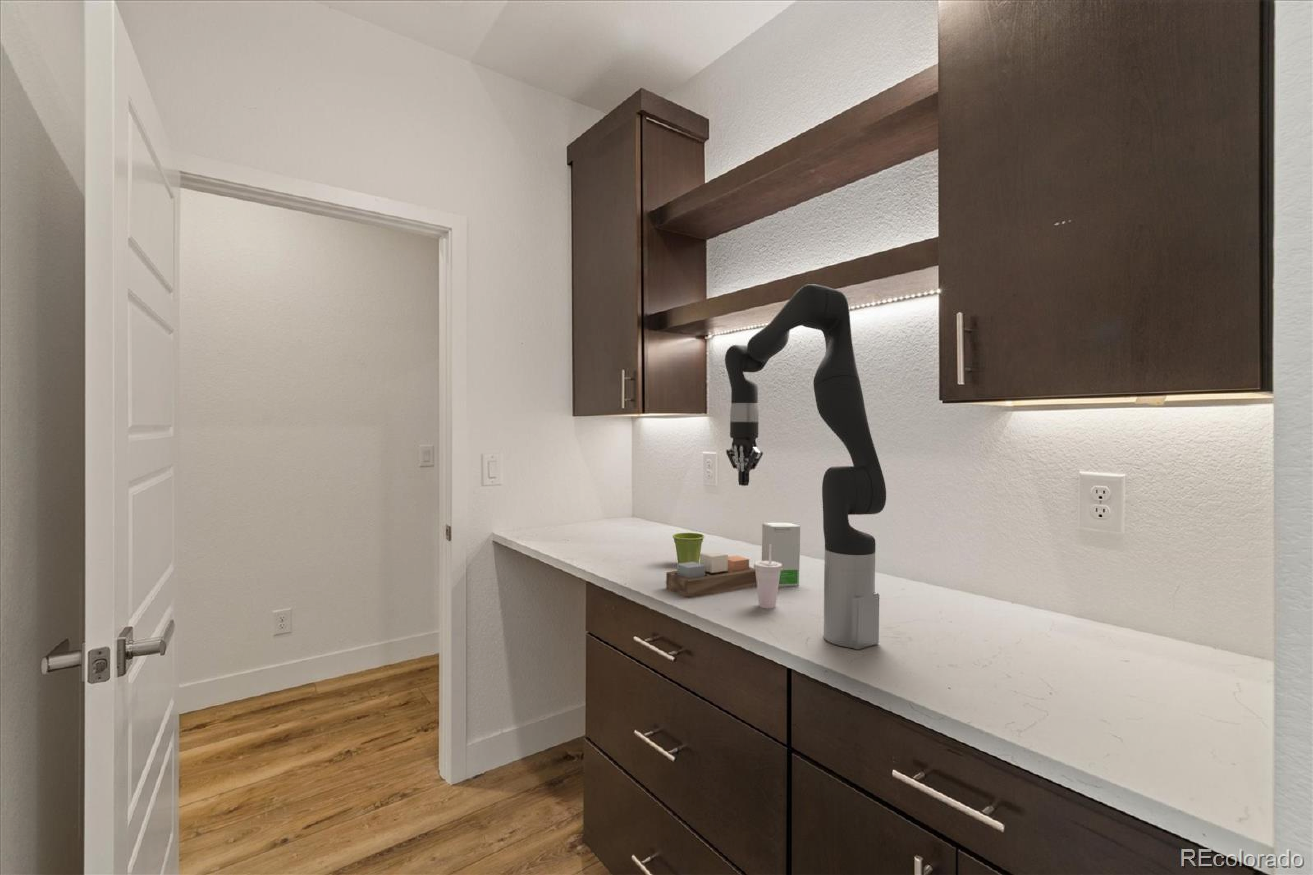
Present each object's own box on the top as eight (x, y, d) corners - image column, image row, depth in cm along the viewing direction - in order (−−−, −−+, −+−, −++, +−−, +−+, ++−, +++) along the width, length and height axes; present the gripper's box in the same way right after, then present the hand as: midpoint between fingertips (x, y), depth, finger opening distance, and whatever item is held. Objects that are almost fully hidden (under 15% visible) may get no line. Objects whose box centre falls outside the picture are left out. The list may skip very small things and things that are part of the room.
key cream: (727, 570, 149) (727, 554, 149) (711, 572, 147) (711, 556, 147) (715, 566, 154) (715, 551, 153) (699, 568, 151) (700, 553, 151)
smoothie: (774, 612, 130) (774, 548, 130) (748, 606, 134) (748, 545, 134) (786, 605, 135) (787, 544, 135) (761, 600, 139) (761, 540, 139)
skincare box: (770, 587, 150) (771, 526, 149) (759, 581, 156) (760, 522, 156) (800, 586, 152) (801, 525, 151) (789, 579, 158) (789, 521, 158)
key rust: (748, 574, 153) (749, 559, 153) (733, 577, 150) (733, 561, 150) (736, 570, 157) (736, 555, 157) (721, 572, 155) (721, 557, 155)
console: (759, 585, 152) (759, 570, 152) (688, 598, 140) (688, 581, 140) (735, 577, 160) (735, 562, 160) (666, 588, 149) (666, 572, 149)
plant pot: (694, 570, 167) (694, 539, 167) (666, 565, 173) (666, 536, 172) (710, 564, 175) (710, 534, 175) (682, 559, 180) (682, 531, 180)
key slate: (704, 581, 146) (705, 565, 146) (688, 584, 143) (688, 567, 143) (693, 577, 150) (693, 561, 150) (676, 579, 147) (676, 563, 147)
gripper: (771, 420, 154) (771, 487, 155) (739, 420, 166) (738, 482, 166) (749, 420, 151) (748, 488, 151) (717, 420, 162) (717, 483, 162)
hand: (743, 485), depth 158 cm, fingers closed
